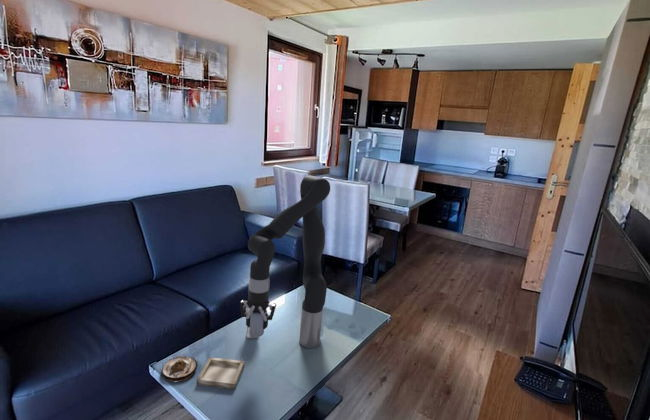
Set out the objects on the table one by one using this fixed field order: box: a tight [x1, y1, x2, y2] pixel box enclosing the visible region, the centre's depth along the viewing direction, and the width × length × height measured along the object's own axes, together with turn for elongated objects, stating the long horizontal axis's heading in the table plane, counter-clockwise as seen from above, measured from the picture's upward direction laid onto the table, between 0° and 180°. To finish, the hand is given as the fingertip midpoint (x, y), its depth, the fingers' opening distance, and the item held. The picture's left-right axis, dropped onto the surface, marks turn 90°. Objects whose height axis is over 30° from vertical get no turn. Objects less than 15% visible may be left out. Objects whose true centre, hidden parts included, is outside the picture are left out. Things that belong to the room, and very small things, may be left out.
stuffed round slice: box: [161, 355, 198, 382], centre depth 127 cm, size 15×15×4 cm
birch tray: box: [196, 356, 245, 390], centre depth 126 cm, size 14×12×2 cm
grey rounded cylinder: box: [249, 312, 265, 338], centre depth 128 cm, size 6×6×9 cm
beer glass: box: [245, 304, 259, 340], centre depth 150 cm, size 7×7×15 cm
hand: (256, 326), depth 128 cm, fingers closed on grey rounded cylinder, 5 cm apart
